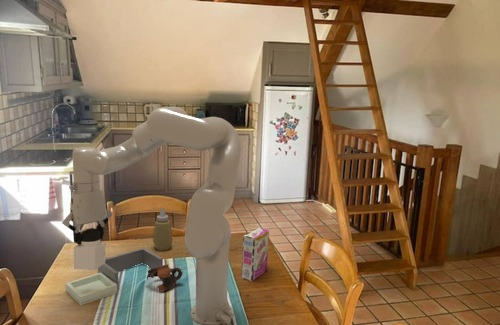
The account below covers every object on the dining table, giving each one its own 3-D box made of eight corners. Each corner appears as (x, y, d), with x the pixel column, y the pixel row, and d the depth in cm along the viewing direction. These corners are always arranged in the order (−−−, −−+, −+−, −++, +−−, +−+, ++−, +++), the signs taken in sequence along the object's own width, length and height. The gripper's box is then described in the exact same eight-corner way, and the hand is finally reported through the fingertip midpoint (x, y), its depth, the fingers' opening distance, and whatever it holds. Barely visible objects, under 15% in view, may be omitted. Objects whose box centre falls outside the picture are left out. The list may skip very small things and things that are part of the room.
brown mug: (150, 295, 129) (144, 270, 131) (151, 294, 138) (145, 271, 140) (186, 283, 132) (179, 259, 134) (184, 283, 141) (178, 261, 143)
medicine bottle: (105, 263, 130) (106, 227, 130) (95, 270, 123) (95, 232, 122) (84, 262, 131) (85, 226, 130) (73, 269, 124) (73, 231, 123)
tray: (117, 292, 130) (117, 284, 130) (80, 305, 122) (80, 297, 122) (101, 279, 139) (100, 272, 138) (65, 291, 130) (65, 283, 130)
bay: (162, 273, 145) (162, 258, 144) (115, 290, 132) (114, 273, 131) (144, 262, 154) (143, 247, 153) (98, 276, 141) (97, 260, 140)
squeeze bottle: (176, 247, 169) (176, 207, 166) (163, 254, 162) (162, 211, 159) (162, 243, 173) (162, 204, 170) (149, 249, 166) (148, 208, 163)
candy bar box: (253, 282, 140) (254, 238, 137) (241, 278, 143) (242, 235, 140) (267, 271, 150) (269, 229, 147) (256, 267, 152) (257, 227, 149)
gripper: (62, 193, 116) (65, 251, 119) (118, 185, 128) (119, 237, 131) (53, 188, 121) (56, 244, 124) (108, 180, 133) (109, 231, 136)
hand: (89, 240), depth 127 cm, fingers closed on medicine bottle, 6 cm apart
